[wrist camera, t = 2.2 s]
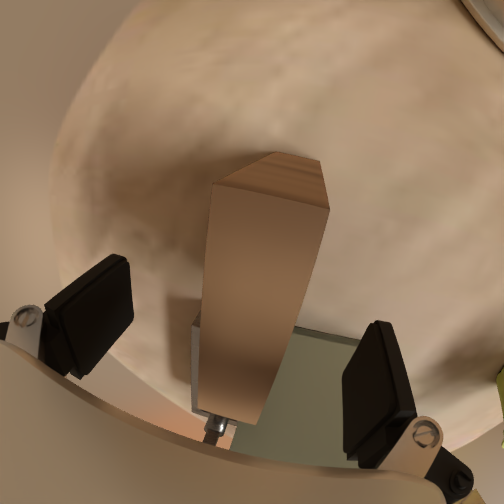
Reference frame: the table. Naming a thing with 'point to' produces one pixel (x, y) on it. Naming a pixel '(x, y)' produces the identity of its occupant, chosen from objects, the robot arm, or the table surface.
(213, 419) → the grey brown open box
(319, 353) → the box
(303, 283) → the door
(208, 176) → the table surface
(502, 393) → the plant pot
